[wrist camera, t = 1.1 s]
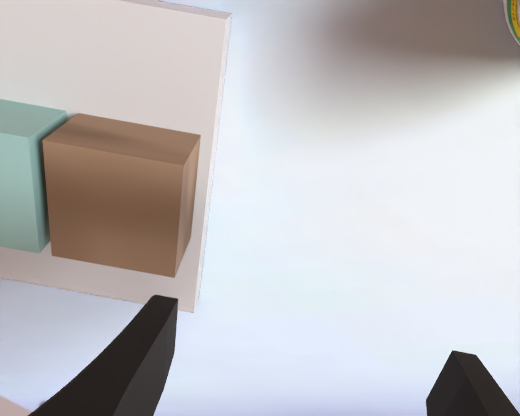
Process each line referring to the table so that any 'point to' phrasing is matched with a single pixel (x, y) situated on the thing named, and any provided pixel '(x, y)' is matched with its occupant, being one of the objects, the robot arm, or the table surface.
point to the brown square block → (121, 193)
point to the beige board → (119, 108)
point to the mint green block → (25, 174)
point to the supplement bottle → (513, 17)
